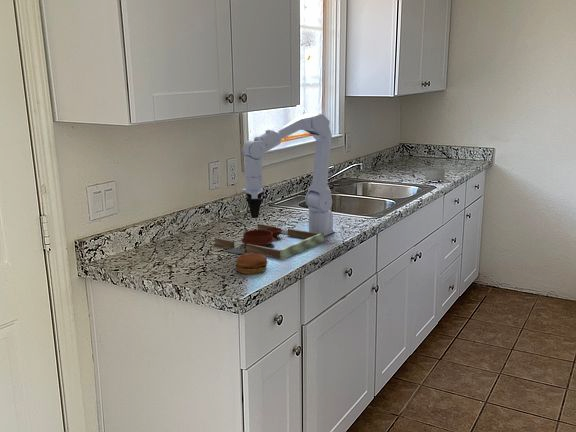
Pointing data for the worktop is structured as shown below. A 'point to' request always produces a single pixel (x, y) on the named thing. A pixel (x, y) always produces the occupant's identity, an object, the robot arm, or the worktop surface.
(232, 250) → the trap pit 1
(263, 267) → the burger
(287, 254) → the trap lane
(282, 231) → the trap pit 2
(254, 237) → the pottery
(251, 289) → the worktop surface
